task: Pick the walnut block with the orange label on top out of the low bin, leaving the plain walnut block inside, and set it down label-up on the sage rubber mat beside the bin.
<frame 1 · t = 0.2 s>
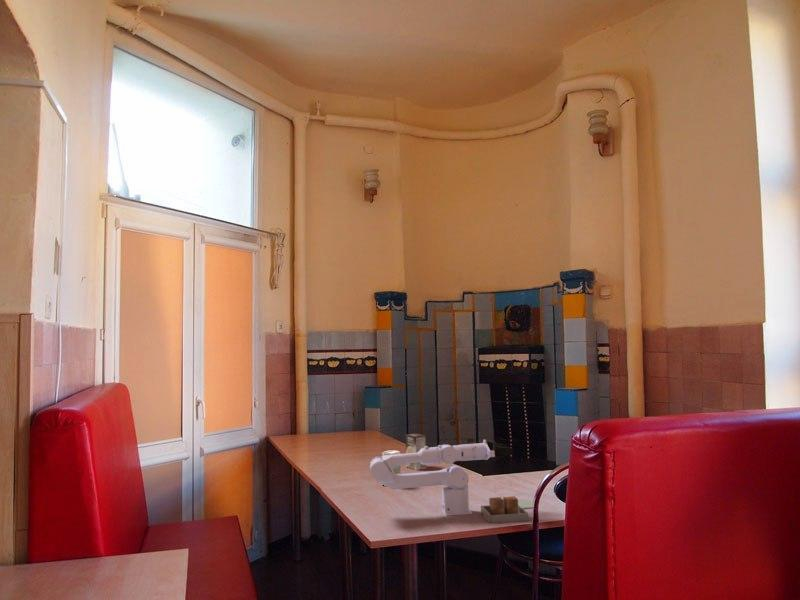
hand: (509, 449, 212), 21 cm above the table, tool horizontal, fingers open, 7 cm apart
bin: (504, 517, 202), on the table
syrup box: (391, 486, 252), on the table
mat: (521, 505, 215), on the table
label block: (511, 516, 202), resting on bin
plain block: (497, 516, 201), resting on bin
coffee box: (416, 468, 286), on the table
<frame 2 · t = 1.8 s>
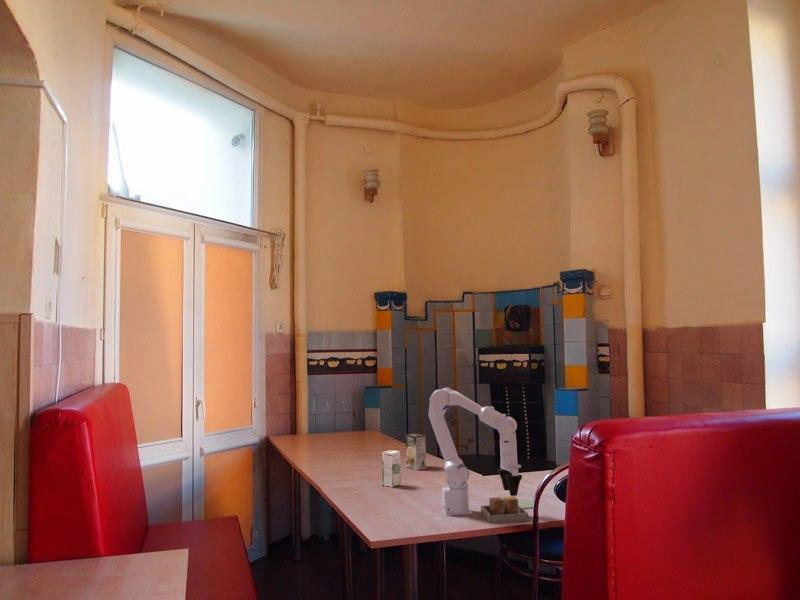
hand: (510, 492, 202), 8 cm above the table, tool pointing down, fingers open, 7 cm apart
nothing on the table moved.
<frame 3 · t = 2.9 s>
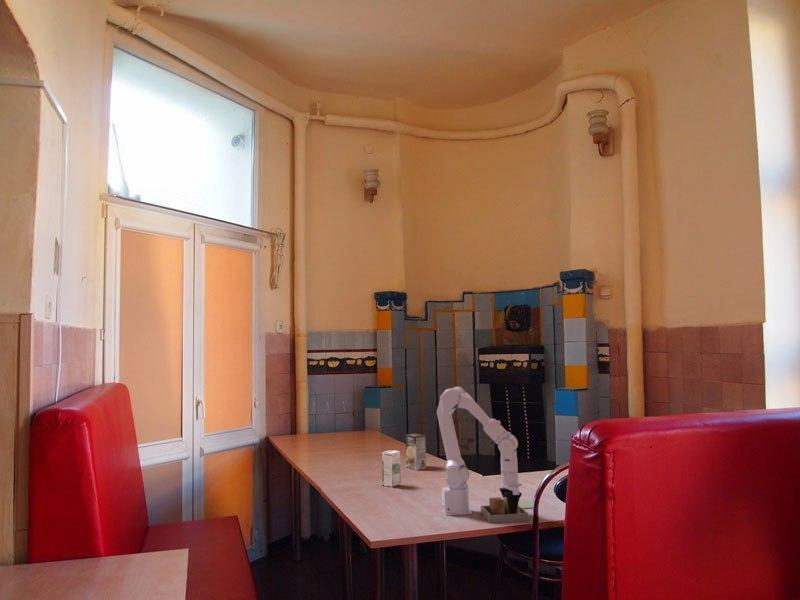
hand: (511, 511, 202), 2 cm above the table, tool pointing down, fingers closed on label block, 4 cm apart
label block: (511, 516, 202), resting on bin, touching gripper
everything else where it was.
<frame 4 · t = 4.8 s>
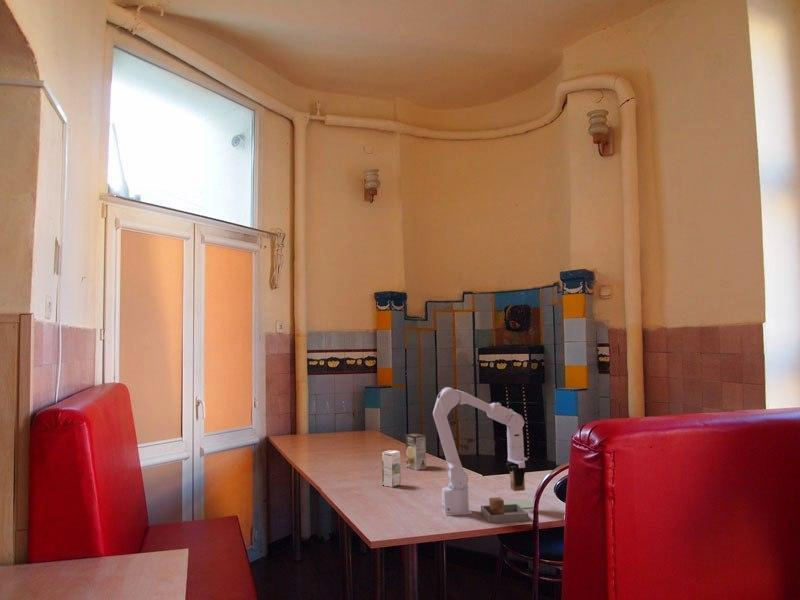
hand: (517, 484, 211), 9 cm above the table, tool pointing down, fingers closed on label block, 4 cm apart
label block: (517, 489, 211), point 7 cm above the table, touching gripper
everything else where it was.
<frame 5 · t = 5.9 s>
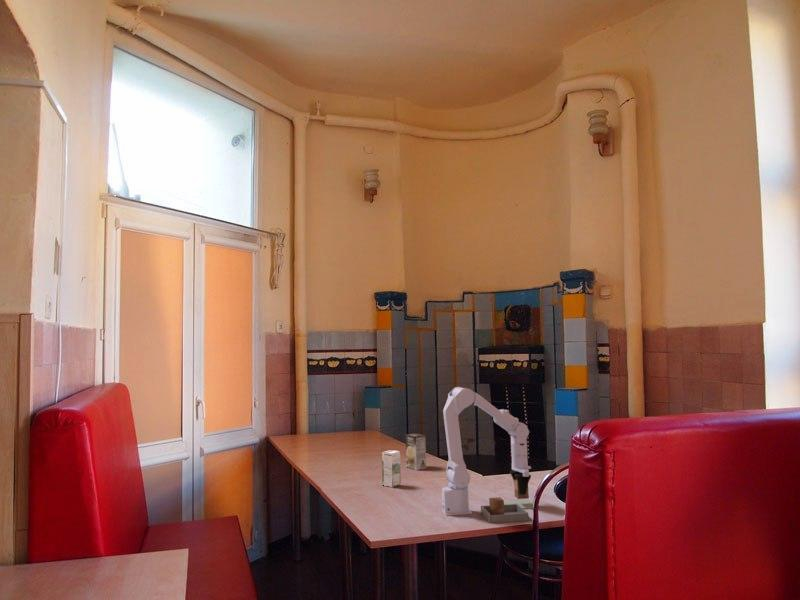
hand: (521, 492, 215), 5 cm above the table, tool pointing down, fingers closed on label block, 4 cm apart
label block: (521, 497, 215), point 3 cm above the table, touching gripper
everything else where it was.
when the fingers open (3 cm above the table, at t = 6.6 s): label block stays where it is, resting on mat.
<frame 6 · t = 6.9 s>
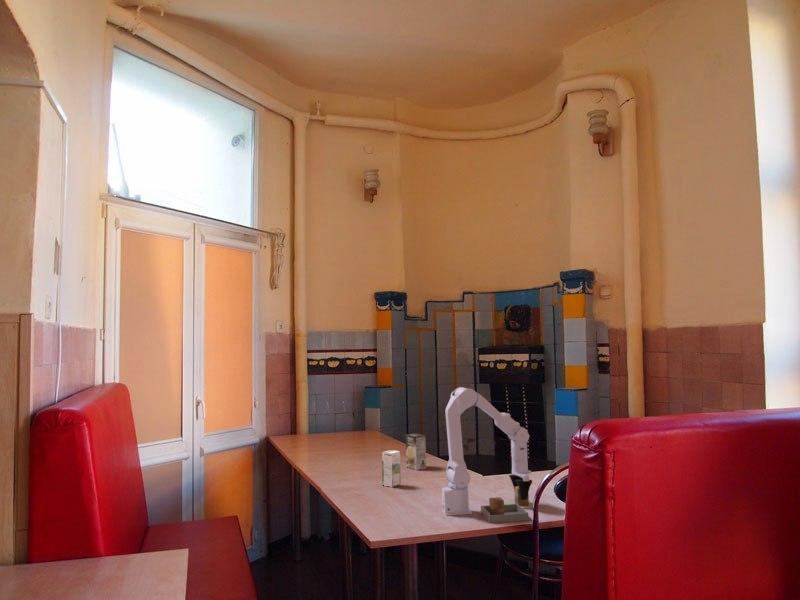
hand: (521, 497, 215), 3 cm above the table, tool pointing down, fingers open, 6 cm apart
label block: (521, 504, 215), point 1 cm above the table, touching mat
everything else where it was.
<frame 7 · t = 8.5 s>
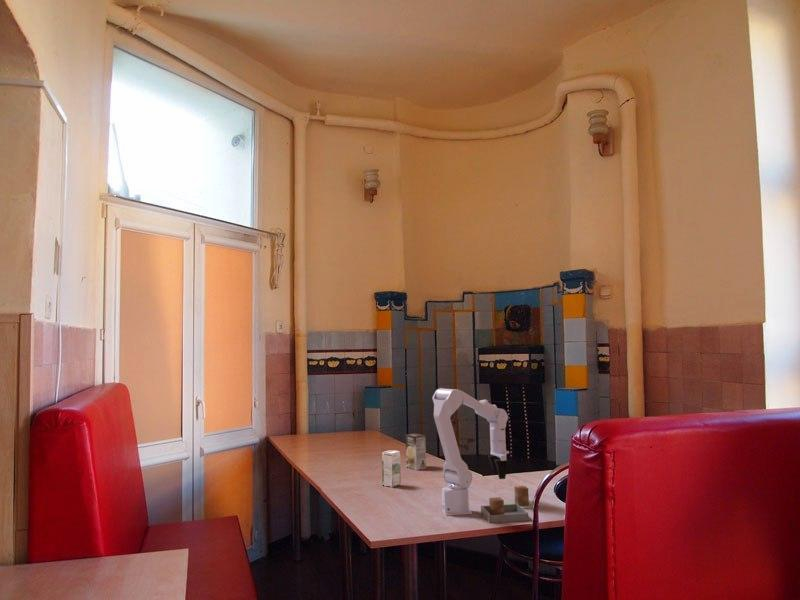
hand: (499, 476, 222), 9 cm above the table, tool pointing down, fingers open, 7 cm apart
nothing on the table moved.
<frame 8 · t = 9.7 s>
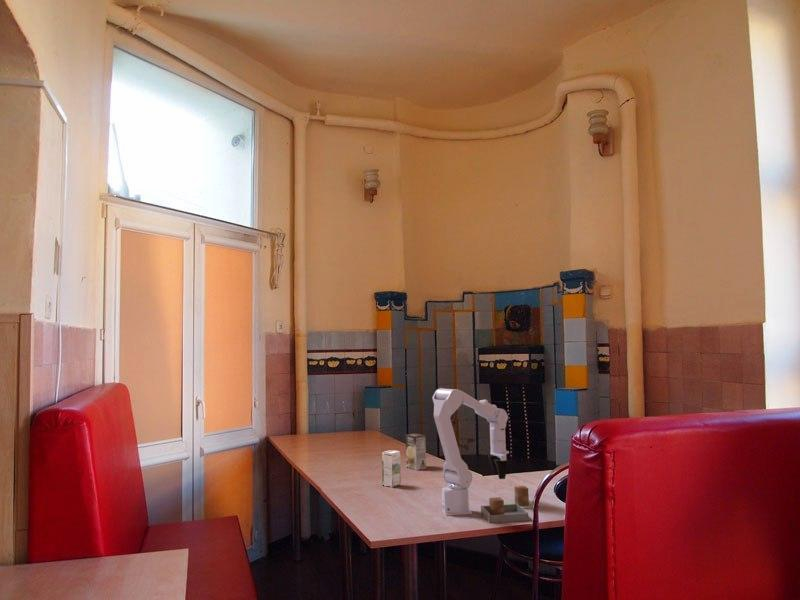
hand: (499, 476, 222), 9 cm above the table, tool pointing down, fingers open, 7 cm apart
nothing on the table moved.
at the end: label block 0.2 cm off-centre on the mat, point 0.6 cm above the mat's base; label block tilted 0°; plain block moved 0.0 cm from its start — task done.
